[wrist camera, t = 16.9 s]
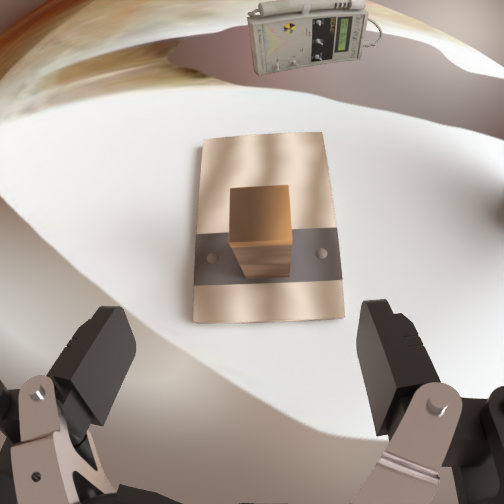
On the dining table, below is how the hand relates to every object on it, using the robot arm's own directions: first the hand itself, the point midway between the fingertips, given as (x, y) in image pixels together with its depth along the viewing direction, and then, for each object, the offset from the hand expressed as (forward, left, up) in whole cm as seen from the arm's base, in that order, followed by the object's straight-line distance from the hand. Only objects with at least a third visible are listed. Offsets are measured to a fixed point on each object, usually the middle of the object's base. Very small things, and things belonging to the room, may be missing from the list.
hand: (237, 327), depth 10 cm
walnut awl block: (0, -10, -22) cm, 24 cm away
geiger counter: (-11, -47, -24) cm, 54 cm away
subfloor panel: (0, -15, -24) cm, 28 cm away
